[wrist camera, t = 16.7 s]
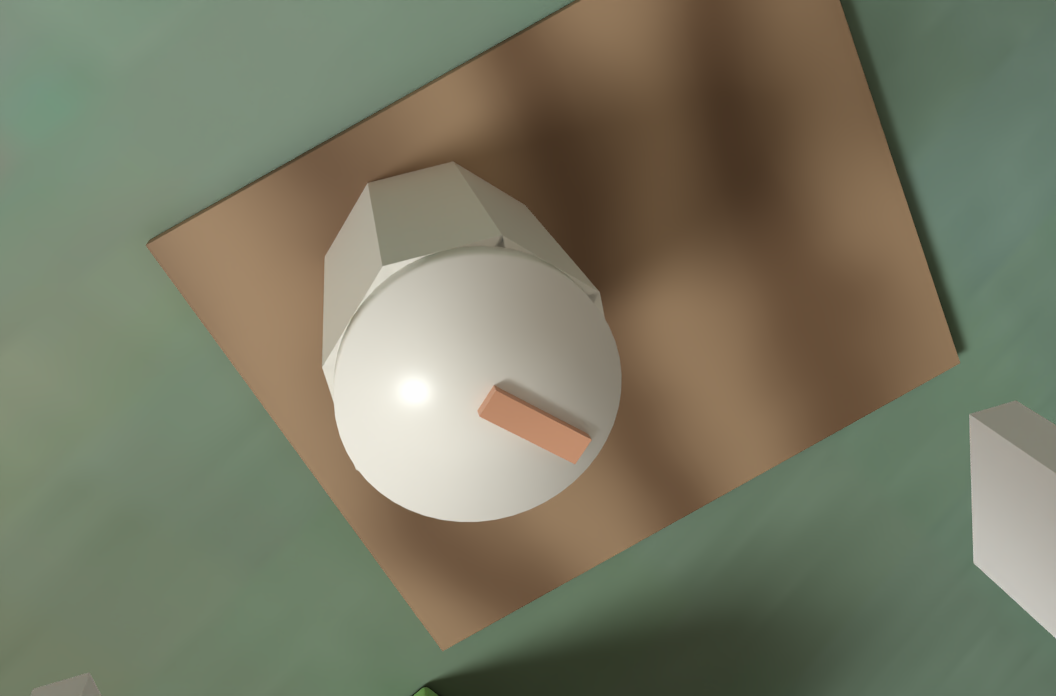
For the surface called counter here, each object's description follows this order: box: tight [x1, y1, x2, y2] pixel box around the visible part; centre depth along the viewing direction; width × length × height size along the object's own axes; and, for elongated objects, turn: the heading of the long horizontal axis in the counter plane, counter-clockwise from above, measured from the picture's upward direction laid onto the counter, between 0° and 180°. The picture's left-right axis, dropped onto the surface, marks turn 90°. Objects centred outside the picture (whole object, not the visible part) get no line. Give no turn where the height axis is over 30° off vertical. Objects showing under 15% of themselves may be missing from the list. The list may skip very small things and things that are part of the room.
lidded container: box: [322, 161, 622, 522], centre depth 25 cm, size 6×6×10 cm
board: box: [146, 0, 960, 651], centre depth 29 cm, size 22×18×6 cm
